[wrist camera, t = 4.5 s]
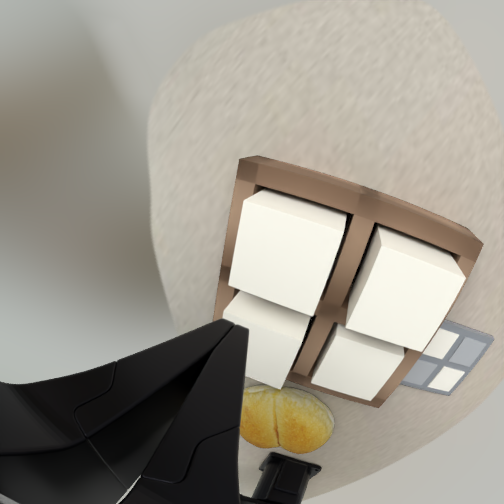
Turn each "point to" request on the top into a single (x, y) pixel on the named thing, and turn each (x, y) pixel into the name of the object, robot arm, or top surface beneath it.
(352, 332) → the button
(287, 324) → the button
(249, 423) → the bread roll
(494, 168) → the top surface
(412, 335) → the button
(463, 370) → the pattern card
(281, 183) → the brown flat square grid
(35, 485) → the robot arm
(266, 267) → the button
